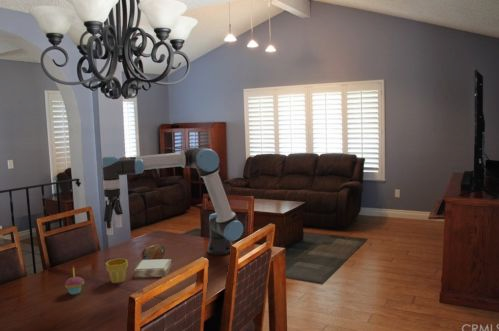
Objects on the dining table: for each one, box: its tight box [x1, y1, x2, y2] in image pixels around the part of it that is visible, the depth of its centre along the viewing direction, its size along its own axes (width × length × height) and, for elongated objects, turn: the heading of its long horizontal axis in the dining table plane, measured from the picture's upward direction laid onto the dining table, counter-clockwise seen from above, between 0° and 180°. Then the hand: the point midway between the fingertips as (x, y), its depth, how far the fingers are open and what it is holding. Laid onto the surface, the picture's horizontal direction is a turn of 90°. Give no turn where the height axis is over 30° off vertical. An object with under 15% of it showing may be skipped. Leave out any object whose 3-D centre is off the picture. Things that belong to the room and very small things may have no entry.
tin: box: [141, 243, 166, 260], centre depth 244 cm, size 15×3×8 cm, turn 143°
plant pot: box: [105, 258, 129, 284], centre depth 215 cm, size 10×10×10 cm
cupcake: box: [64, 265, 85, 295], centre depth 202 cm, size 9×8×12 cm
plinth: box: [133, 258, 172, 278], centre depth 227 cm, size 16×16×4 cm
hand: (114, 230), depth 213 cm, fingers open, 13 cm apart
